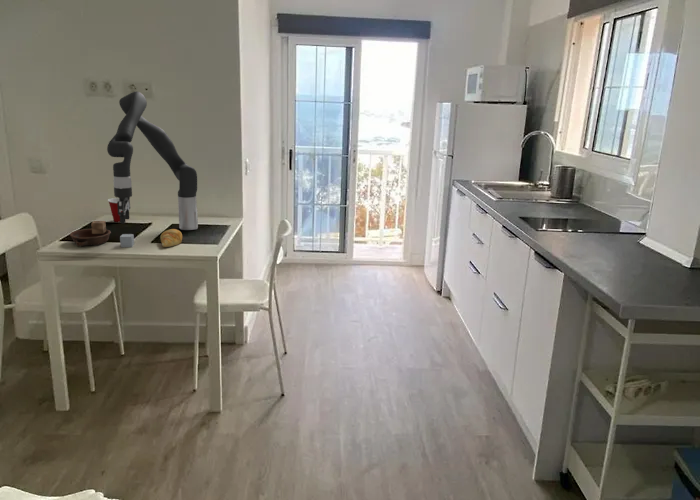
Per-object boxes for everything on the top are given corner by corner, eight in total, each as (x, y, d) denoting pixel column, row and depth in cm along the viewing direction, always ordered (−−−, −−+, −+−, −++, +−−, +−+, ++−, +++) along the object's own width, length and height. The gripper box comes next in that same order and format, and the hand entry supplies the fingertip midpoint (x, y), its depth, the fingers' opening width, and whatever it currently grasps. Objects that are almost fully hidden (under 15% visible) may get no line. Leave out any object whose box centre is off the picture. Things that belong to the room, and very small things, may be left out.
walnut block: (106, 231, 264) (105, 220, 263) (103, 233, 260) (102, 223, 258) (95, 231, 263) (94, 220, 262) (92, 233, 259) (91, 223, 257)
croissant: (170, 256, 257) (178, 241, 255) (150, 245, 255) (158, 231, 253) (184, 243, 277) (191, 230, 275) (165, 233, 276) (172, 220, 274)
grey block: (134, 244, 261) (133, 234, 260) (132, 247, 256) (131, 236, 255) (123, 244, 260) (122, 234, 259) (120, 247, 255) (119, 236, 254)
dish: (60, 247, 252) (58, 237, 251) (86, 236, 273) (85, 226, 272) (97, 250, 251) (96, 239, 250) (120, 238, 272) (119, 228, 271)
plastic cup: (123, 223, 299) (121, 201, 296) (105, 222, 301) (103, 200, 298) (134, 219, 309) (133, 198, 306) (117, 218, 311) (115, 197, 308)
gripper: (117, 183, 257) (119, 217, 261) (110, 188, 244) (112, 224, 248) (134, 183, 258) (136, 218, 263) (128, 188, 245) (130, 224, 249)
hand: (124, 221), depth 255 cm, fingers open, 8 cm apart
